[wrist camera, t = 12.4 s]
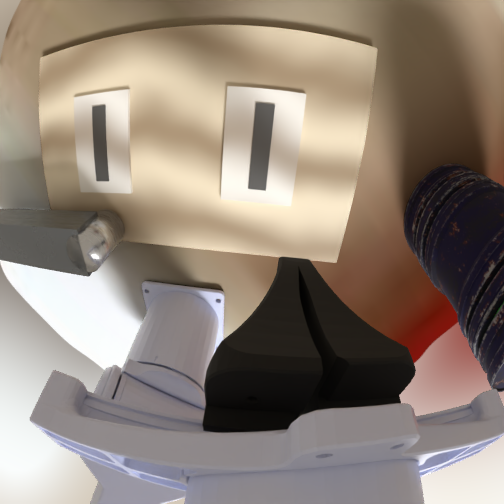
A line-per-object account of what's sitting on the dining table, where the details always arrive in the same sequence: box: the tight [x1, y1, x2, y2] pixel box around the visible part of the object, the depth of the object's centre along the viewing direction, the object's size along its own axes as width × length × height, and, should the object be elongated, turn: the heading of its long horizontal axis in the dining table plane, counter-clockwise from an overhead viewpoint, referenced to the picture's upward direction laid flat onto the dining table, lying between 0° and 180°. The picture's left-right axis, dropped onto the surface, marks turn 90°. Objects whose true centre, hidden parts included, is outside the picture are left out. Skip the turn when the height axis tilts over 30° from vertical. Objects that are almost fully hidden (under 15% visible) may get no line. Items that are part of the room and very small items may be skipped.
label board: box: [39, 25, 378, 263], centre depth 18 cm, size 17×26×1 cm, turn 85°
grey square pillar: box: [0, 209, 125, 276], centre depth 20 cm, size 17×4×4 cm, turn 86°
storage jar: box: [404, 164, 504, 392], centre depth 14 cm, size 10×10×15 cm
